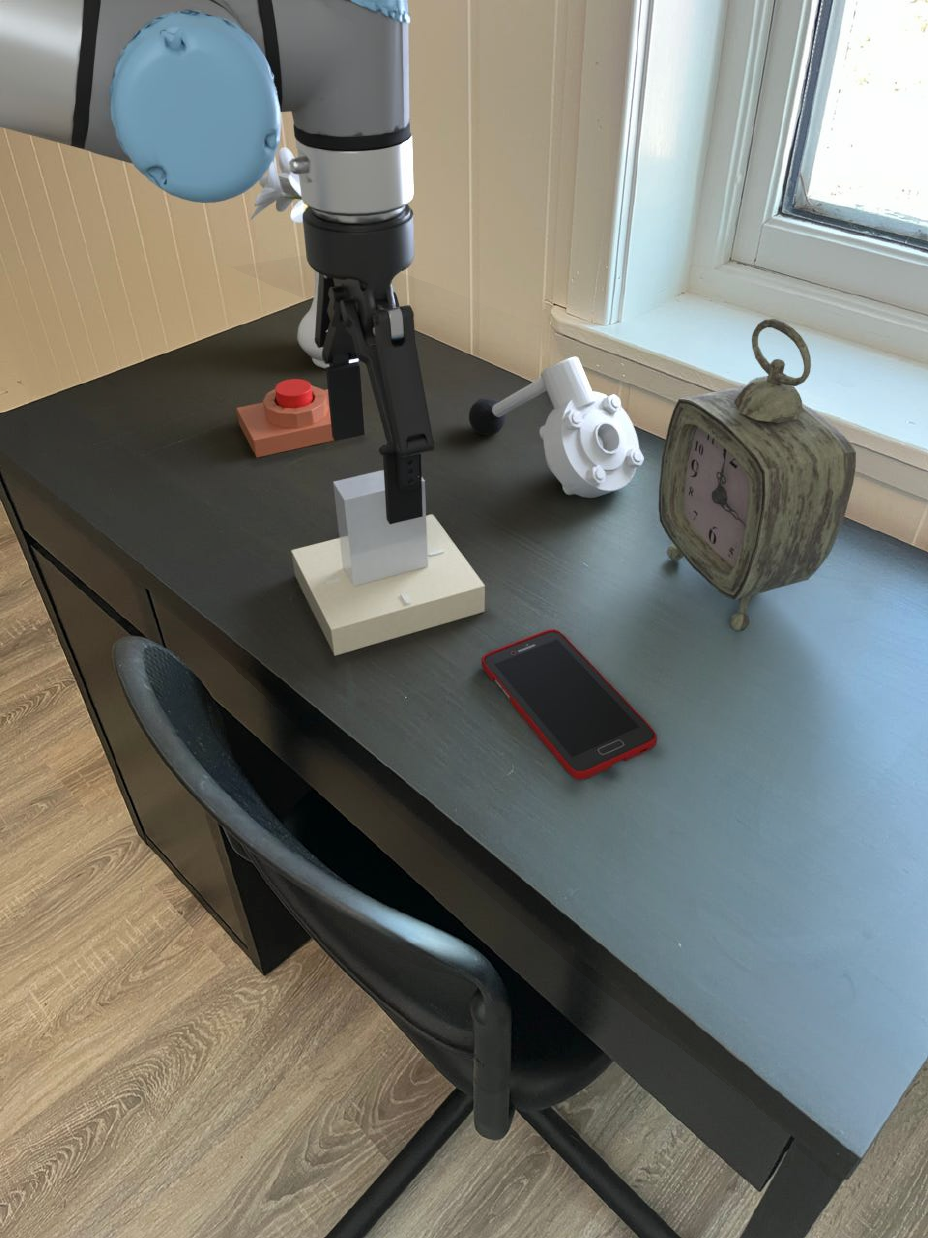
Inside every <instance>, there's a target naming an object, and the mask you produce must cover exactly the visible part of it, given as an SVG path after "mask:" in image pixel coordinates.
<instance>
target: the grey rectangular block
mask: <svg viewBox="0 0 928 1238" xmlns="http://www.w3.org/2000/svg"><path fill="white" fill-rule="evenodd" d="M425 482H426V480H425V479H424V477H422V510H423V517H419V518H415V519H410V520H406V521H402V522H398V523H394V524H389V522H388V521H387V519H386V501H385V484H384V469H381V470H376V471H372V472H368V473H364V474H360V475H356V476H352V477H347V478H343V479H338V480H335V481H332V484H333V494H334V502H335V509H336V510H335V511H336V521H337V526H338V527H337V529H338V535H339V536H338V538H340V546H341V555H342V563H343V568H344V570H345V572H346V574H347V575H348V577H349V579H350V581H351V583H352V584H353V586H358V585H361V584H365V583H369V582H372V581H376V580H380V579H383V578H387V577H391V576H394V575H398V574H402V573H405V572H409V571H413V570H416V569H420V568H423V567H427V566H428V550H427V525H426V516H427V506H426V505H427V504H426V501H427V500H426V483H425Z"/></svg>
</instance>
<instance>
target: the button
mask: <svg viewBox="0 0 928 1238" xmlns="http://www.w3.org/2000/svg"><path fill="white" fill-rule="evenodd" d="M311 385H312V383H310V381H307V380H305V379H301V378H300V379H299V378H291V379H286V380H283V381H281V382H279V383H277V384H276V385H275V388H274V389H275V392H276V398H277V404H278V405H279V406H280V407H283V408H300V407H305V406H307V405H309V404H311V403H312V401H313V396H312V388H311Z"/></svg>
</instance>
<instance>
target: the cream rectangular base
mask: <svg viewBox="0 0 928 1238" xmlns="http://www.w3.org/2000/svg"><path fill="white" fill-rule="evenodd" d="M426 525H427V550H428V566H427V567H423V568H420V569H416V570H413V571H409V572H405V573H402V574H398V575H394V576H391V577H387V578H383V579H380V580H376V581H372V582H369V583H365V584H361V585H358V586H353V584H352V583H351V581H350V579H349V577H348V575H347V574H346V572H345V570H344V568H343V563H342V555H341V546H340V537H337V538H333V539H330V540H329V539H328V540H326V541H322V542H318V543H314V544H310V545H305V546H303V547H298V548H293V549H291V550H290V554H291V559H292V566H293V572H294V577H295V579H296V581H297V583H298V585H299V587H300V589H301V591H302V593H303V595H304V597H305V599H306V602H307V603H308V605H309V607H310V609H311V611H312V613H313V615H314V617H315V619H316V621H317V624H318V626H319V627H320V629H321V631H322V633H323V635H324V637H325V639H326V641H327V644H328V645H329V647H330V649H331V652H332V653H333V655H334V656H335V657H336V656H340V655H342V654H346V653H350V652H353V651H356V650H359V649H363V648H366V647H370V646H373V645H376V644H380V643H384V642H386V641H390V640H393V639H397V638H401V637H403V636H407V635H411V634H414V633H417V632H420V631H424V630H427V629H431V628H434V627H438V626H440V625H445V624H448V623H450V622H454V621H458V620H462V619H465V618H468V617H471V616H475V615H478V614H481V613H485V611H486V610H485V609H486V585H485V583H484V582H483V581H482V579H481V578H480V576H479V575H478V574H477V573H476V572H475V570H474V568H473V567H472V565H471V564H470V563H469V562H468V560H467V558H465V557H464V555H463V553H462V552H461V551H460V550H459V548H458V547H457V545H456V544H455V543H454V541H453V539H451V537H450V536H449V534H448V533H447V532H446V530H445V528H444V527H443V526H442V525H441V524H440V522H439V520H438V519H437V518H436V516H435V515H434V513H431V514H428V515H427V514H426Z"/></svg>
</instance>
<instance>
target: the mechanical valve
mask: <svg viewBox="0 0 928 1238" xmlns="http://www.w3.org/2000/svg"><path fill="white" fill-rule="evenodd" d="M545 392H547V395H548V397H549V399H550V402H551V404H552V406H553V409H552V410H551V411H550V413H549V414H548V416H547V419H546V420H545V421H546V422H545V423H544V424H543V425H542V426H541V427H540V428H539V436H540V438H541V439H542V440H543V448H544V456H545V460H546V465H547V467H548V468H549V469H548V470H550V472H551V473H552V474H553V475H554V477H555V478H556V480H557V481H558V482H559V483H560V484H561V485H562V490H563V492H564V493H565V495H568V496H573V495H577V496H579V497H581V498H588V499H595V498H599V497H601V496H604V495H607V494H610V493H612V492H615V491H618V490H621V489H623V488H624V487H625V486H627V485H629V483H630V482H631V481H632V480H633V478H634V476H635V474H636V472H637V469H638V468H639V467H641V466H642V464H643V463H644V460H645V458H644V455H643V452H642V451H641V450H640V444H639V439H638V435H637V431H636V429H635V426H634V423H633V422H632V420H631V418H630V416H629V414H628V413H627V412H626V410H625V409H624V408H623V407H622V401H621V399H620V397H619V396H617V395H616V394H615V393H613V394H611V395H607V394H605V393H602V392H599V391H594V390H592V387H591V385H590V382H589V381H588V378H587V375H586V373H585V371H584V368H583V366H582V362H581V361H580V359H579V357H577V356H571V357H568V358H565V359H563V360H561V361H558V362H557V363H555V364H553V365H551V366H549V367H547V368H545V369H543V370H542V371H541V373H540V378H538V379H536V380H534V381H533V382H531V383H530V384H528V385H526V386H524V387H522V388H521V389H520V390H517V391H516V392H514V393H512V394H510V395H509V396H507V397H505V398H504V399H502V400H500V401H499V400H497V399H496V398H493V397H481V398H479V399H477V400H476V401H475V402H473V404H471V407H470V409H469V412H468V421H469V425H470V426H471V428H472V429H473V430H474V431H475V432H476V433H477V434H479V435H483V436H492V435H495V434H497V433H499V432H500V431H501V430H502V428H503V427H504V426H505V423H506V420H507V415H506V414H508V413H509V412H511V411H513V410H515V409H516V408H518V407H520V406H522V405H524V404H525V403H527V402H530V401H531V400H533V399H535V398H536V397H538V396H540V395H542V394H544V393H545Z"/></svg>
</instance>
